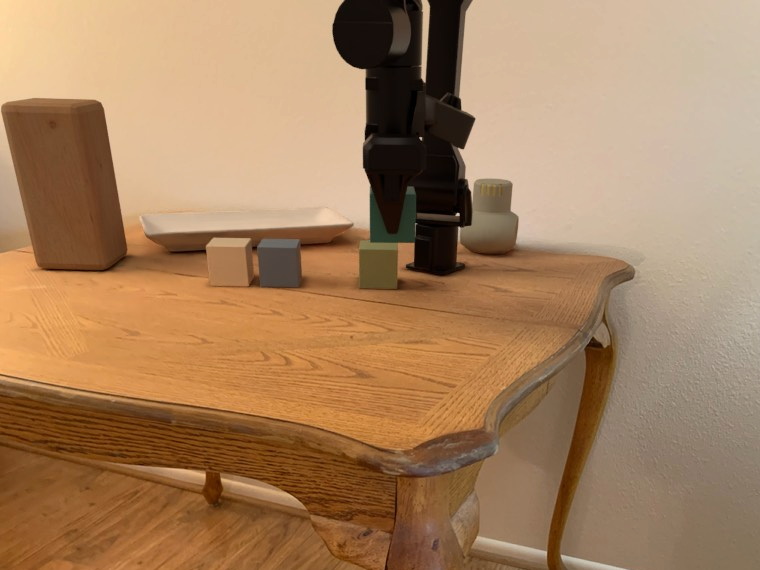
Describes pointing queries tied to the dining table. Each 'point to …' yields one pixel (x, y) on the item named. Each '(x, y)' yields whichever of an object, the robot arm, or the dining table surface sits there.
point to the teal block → (405, 227)
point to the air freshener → (491, 218)
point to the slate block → (279, 262)
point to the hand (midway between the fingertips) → (392, 228)
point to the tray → (243, 226)
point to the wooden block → (66, 182)
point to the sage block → (378, 265)
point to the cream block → (230, 261)
